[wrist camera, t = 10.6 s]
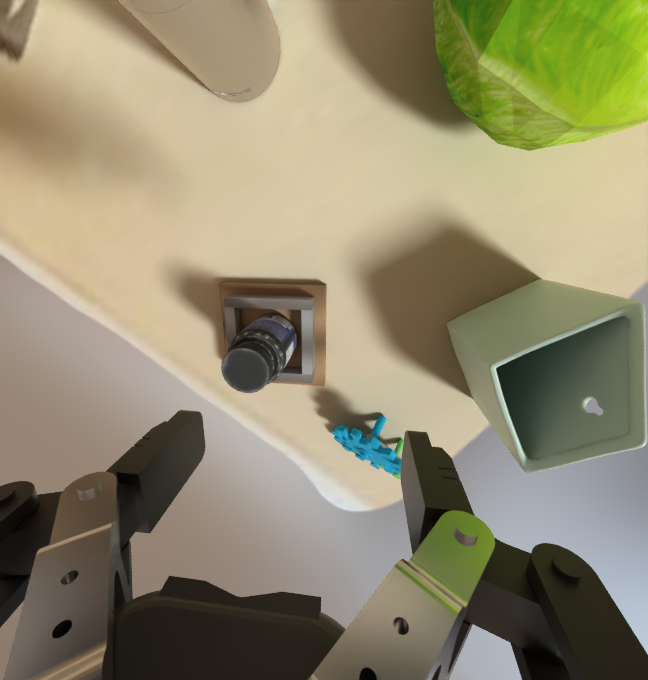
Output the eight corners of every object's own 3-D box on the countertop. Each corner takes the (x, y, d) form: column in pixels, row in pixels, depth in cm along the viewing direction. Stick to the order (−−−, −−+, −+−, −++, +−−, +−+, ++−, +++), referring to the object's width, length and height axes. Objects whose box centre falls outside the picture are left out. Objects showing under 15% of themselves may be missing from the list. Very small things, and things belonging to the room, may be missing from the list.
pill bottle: (242, 323, 40) (201, 353, 30) (285, 304, 39) (257, 329, 28) (265, 365, 42) (233, 408, 31) (307, 348, 40) (288, 387, 30)
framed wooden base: (223, 281, 40) (211, 285, 37) (326, 284, 39) (323, 288, 35) (231, 376, 44) (221, 387, 41) (325, 381, 43) (322, 393, 39)
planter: (478, 257, 36) (606, 278, 17) (544, 280, 36) (745, 326, 17) (419, 380, 41) (468, 500, 22) (477, 400, 41) (574, 537, 22)
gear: (316, 431, 43) (359, 438, 35) (337, 396, 46) (382, 393, 37) (370, 475, 46) (422, 490, 38) (387, 439, 49) (439, 446, 40)
